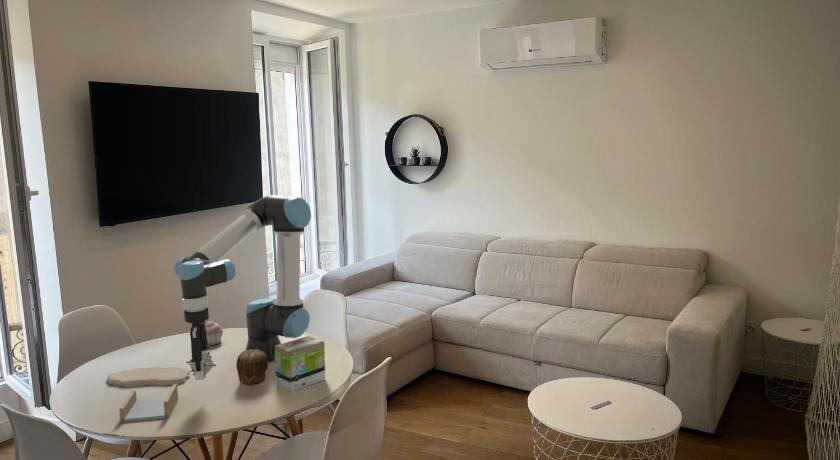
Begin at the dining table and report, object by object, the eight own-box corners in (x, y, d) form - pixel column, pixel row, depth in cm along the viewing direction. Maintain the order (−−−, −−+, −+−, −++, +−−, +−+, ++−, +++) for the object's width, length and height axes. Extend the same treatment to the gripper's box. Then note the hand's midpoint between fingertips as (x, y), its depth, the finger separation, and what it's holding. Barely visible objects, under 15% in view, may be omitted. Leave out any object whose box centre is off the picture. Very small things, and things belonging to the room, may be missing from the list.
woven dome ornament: (241, 390, 217) (239, 357, 216) (234, 379, 227) (232, 348, 225) (272, 384, 222) (270, 352, 221) (264, 374, 232) (262, 343, 230)
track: (178, 399, 211) (176, 384, 210) (169, 417, 198) (167, 401, 197) (133, 403, 209) (131, 387, 208) (120, 422, 195) (118, 405, 194)
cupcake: (229, 341, 269) (227, 319, 267) (210, 348, 262) (208, 325, 260) (216, 337, 275) (214, 315, 273) (197, 343, 267) (195, 321, 266)
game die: (199, 384, 209) (191, 357, 213) (222, 374, 210) (214, 347, 213) (186, 381, 201) (179, 352, 204) (211, 370, 201) (203, 342, 205)
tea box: (292, 392, 215) (290, 351, 213) (275, 385, 222) (272, 345, 219) (326, 379, 226) (324, 340, 223) (309, 372, 232) (307, 334, 230)
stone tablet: (183, 386, 224) (183, 379, 223) (99, 388, 223) (98, 382, 223) (198, 369, 240) (198, 363, 240) (120, 371, 239) (119, 365, 239)
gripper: (189, 300, 213) (196, 363, 217) (177, 319, 193) (184, 388, 197) (212, 298, 214) (218, 361, 218) (202, 317, 194) (209, 386, 198)
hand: (202, 374), depth 208 cm, fingers closed on game die, 8 cm apart
